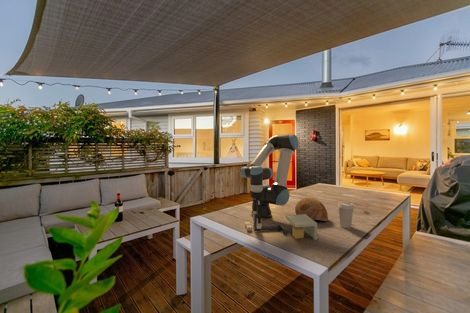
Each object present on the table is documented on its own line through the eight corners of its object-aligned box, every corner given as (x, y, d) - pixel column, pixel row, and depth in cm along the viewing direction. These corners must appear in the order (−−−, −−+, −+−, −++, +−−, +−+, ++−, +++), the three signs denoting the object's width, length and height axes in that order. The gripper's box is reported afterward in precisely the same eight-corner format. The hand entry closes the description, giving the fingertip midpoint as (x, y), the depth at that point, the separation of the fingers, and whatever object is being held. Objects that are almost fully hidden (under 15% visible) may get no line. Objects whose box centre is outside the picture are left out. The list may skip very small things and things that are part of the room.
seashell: (311, 210, 176) (315, 192, 172) (331, 224, 158) (335, 205, 154) (289, 213, 169) (292, 195, 165) (306, 229, 150) (310, 208, 146)
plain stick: (244, 226, 151) (244, 221, 151) (249, 226, 152) (249, 221, 151) (247, 232, 141) (247, 227, 141) (252, 231, 142) (252, 227, 141)
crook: (253, 229, 145) (253, 214, 144) (281, 227, 147) (281, 212, 146) (256, 235, 135) (256, 219, 134) (286, 233, 137) (286, 217, 136)
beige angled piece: (285, 230, 143) (285, 215, 142) (305, 228, 144) (305, 214, 143) (295, 241, 127) (295, 224, 126) (317, 239, 128) (317, 223, 128)
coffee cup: (357, 228, 143) (357, 205, 142) (343, 229, 141) (343, 206, 140) (347, 223, 152) (347, 201, 151) (334, 224, 151) (334, 202, 150)
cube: (292, 234, 135) (292, 226, 135) (300, 234, 136) (300, 226, 136) (295, 238, 130) (295, 230, 130) (303, 238, 131) (303, 229, 131)
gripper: (247, 187, 153) (247, 218, 154) (254, 195, 128) (254, 232, 130) (258, 187, 154) (258, 217, 155) (267, 195, 129) (267, 231, 130)
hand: (256, 224), depth 142 cm, fingers open, 13 cm apart
